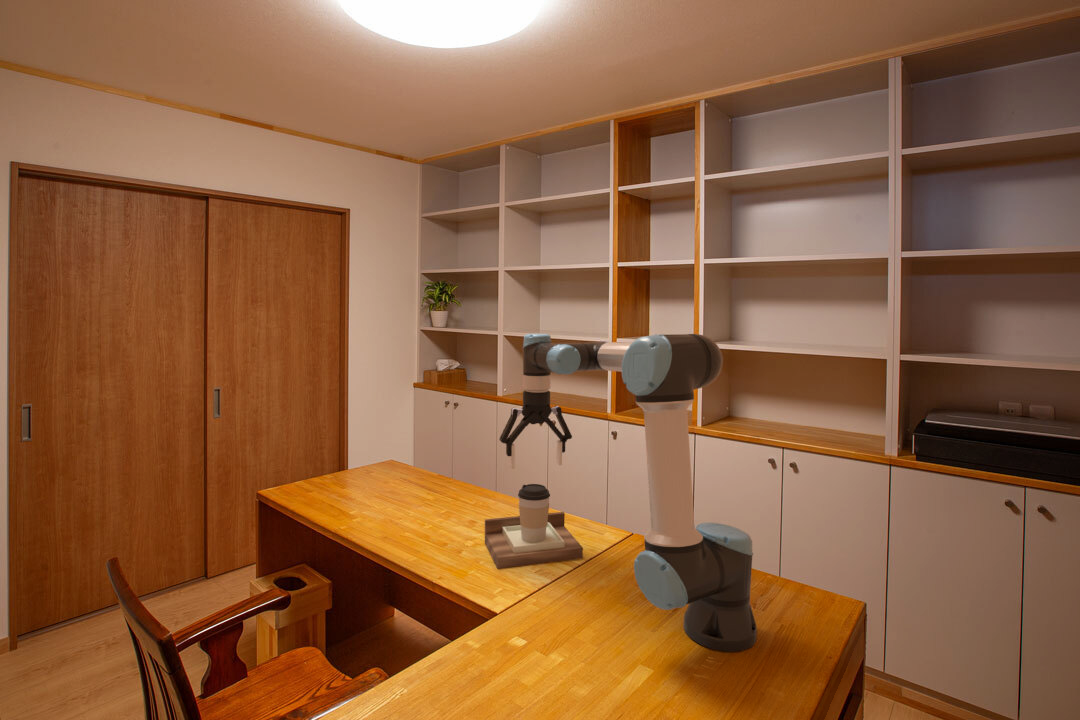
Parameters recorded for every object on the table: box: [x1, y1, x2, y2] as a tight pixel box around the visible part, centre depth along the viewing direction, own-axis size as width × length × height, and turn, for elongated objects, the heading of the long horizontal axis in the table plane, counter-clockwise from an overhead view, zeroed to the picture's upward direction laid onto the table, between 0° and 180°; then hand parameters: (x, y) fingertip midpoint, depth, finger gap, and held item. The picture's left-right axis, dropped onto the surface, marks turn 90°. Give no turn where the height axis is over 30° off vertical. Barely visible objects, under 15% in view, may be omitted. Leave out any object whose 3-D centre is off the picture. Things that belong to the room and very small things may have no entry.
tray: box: [502, 522, 564, 553], centre depth 169 cm, size 14×14×2 cm
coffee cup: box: [517, 483, 551, 543], centre depth 168 cm, size 9×9×15 cm
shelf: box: [484, 511, 584, 569], centre depth 169 cm, size 17×24×7 cm
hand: (535, 465), depth 166 cm, fingers open, 13 cm apart
